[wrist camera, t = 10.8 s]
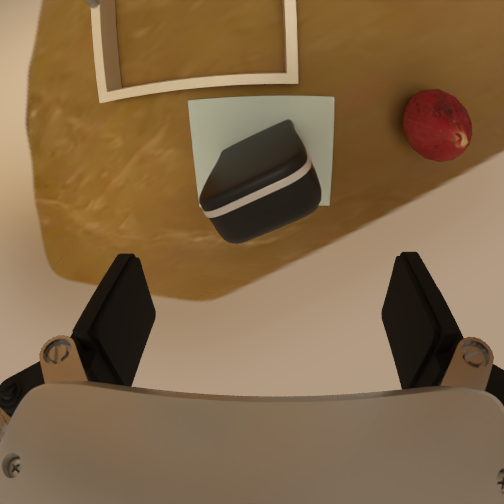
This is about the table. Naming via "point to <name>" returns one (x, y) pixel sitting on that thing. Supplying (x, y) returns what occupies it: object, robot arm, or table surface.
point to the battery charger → (261, 184)
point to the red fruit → (437, 125)
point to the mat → (261, 129)
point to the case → (112, 87)
